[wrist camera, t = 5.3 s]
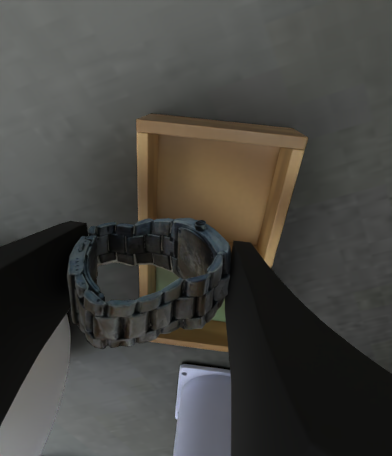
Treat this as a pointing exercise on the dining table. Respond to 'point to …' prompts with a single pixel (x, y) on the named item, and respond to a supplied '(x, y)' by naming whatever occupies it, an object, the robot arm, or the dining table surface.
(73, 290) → the wristwatch
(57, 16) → the dining table surface
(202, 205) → the divided wooden tray
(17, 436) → the vase
